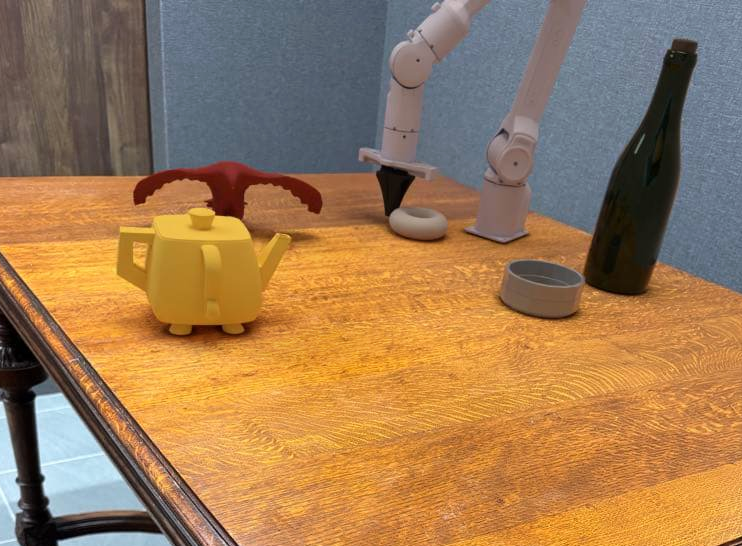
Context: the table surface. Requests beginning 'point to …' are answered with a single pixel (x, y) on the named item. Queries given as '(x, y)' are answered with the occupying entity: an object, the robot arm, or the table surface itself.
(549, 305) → the pan
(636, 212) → the wine bottle
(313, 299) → the table surface
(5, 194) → the table surface
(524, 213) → the robot arm
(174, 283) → the teapot
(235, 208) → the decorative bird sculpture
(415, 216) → the donut
